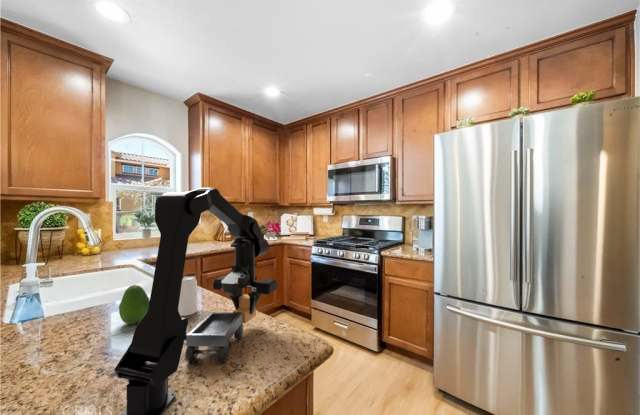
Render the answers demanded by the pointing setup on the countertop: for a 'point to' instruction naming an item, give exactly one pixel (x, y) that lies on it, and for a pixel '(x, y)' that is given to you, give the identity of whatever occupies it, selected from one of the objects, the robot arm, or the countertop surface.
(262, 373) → the countertop surface
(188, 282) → the can
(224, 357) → the tray
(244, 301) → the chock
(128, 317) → the avocado
